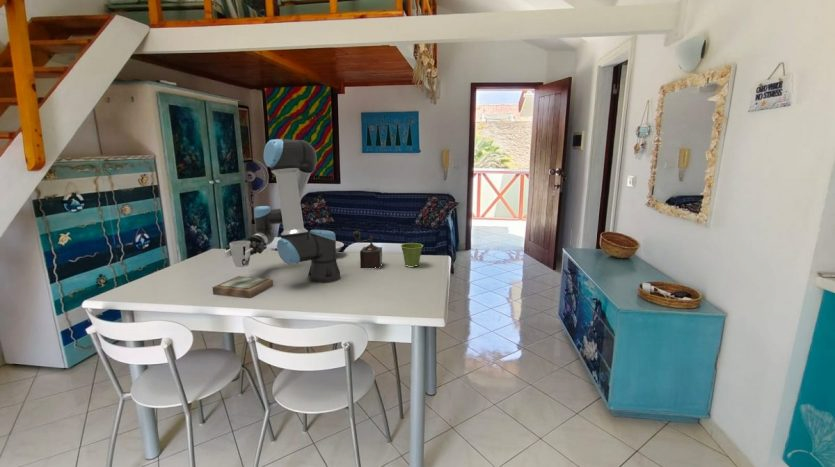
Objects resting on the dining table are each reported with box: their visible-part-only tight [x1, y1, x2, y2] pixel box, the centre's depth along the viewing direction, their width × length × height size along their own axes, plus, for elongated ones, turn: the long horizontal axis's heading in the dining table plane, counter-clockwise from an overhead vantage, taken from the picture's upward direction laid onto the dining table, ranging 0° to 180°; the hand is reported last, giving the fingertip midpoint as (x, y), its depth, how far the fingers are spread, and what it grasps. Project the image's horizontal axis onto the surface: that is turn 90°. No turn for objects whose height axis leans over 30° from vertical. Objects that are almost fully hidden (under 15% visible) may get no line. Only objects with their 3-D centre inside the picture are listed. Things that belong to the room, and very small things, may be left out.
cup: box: [229, 240, 251, 268], centre depth 168 cm, size 8×8×10 cm
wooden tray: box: [211, 275, 274, 299], centre depth 171 cm, size 18×16×3 cm
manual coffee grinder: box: [352, 230, 383, 269], centre depth 208 cm, size 16×11×18 cm
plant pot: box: [400, 242, 424, 266], centre depth 209 cm, size 12×12×11 cm
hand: (235, 254), depth 163 cm, fingers closed on cup, 8 cm apart
